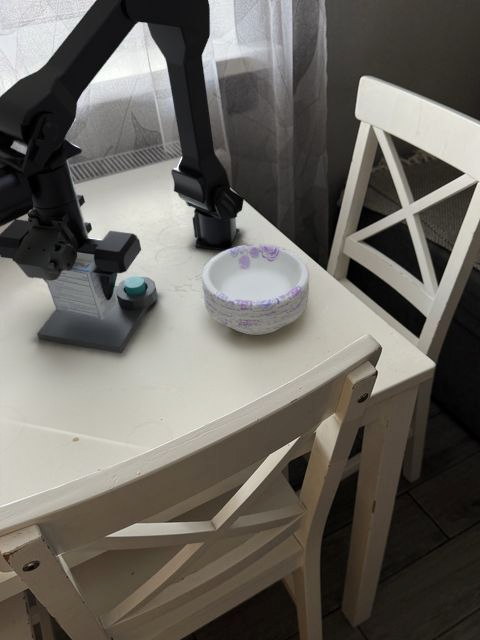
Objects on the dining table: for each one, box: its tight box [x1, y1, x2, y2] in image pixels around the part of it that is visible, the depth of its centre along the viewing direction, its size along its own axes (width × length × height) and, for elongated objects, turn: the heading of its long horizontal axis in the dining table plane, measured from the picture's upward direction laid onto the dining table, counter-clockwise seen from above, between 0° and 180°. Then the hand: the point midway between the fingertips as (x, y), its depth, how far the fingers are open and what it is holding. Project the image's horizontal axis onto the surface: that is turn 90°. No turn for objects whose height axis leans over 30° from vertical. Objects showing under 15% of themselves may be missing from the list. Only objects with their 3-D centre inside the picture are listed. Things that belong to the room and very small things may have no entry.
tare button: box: [124, 275, 146, 296], centre depth 90 cm, size 3×3×2 cm
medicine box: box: [45, 252, 117, 319], centre depth 84 cm, size 8×4×9 cm, turn 71°
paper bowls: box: [201, 243, 310, 336], centre depth 86 cm, size 15×15×8 cm
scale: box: [36, 275, 158, 354], centre depth 89 cm, size 14×14×3 cm
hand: (83, 294), depth 86 cm, fingers closed on medicine box, 8 cm apart
